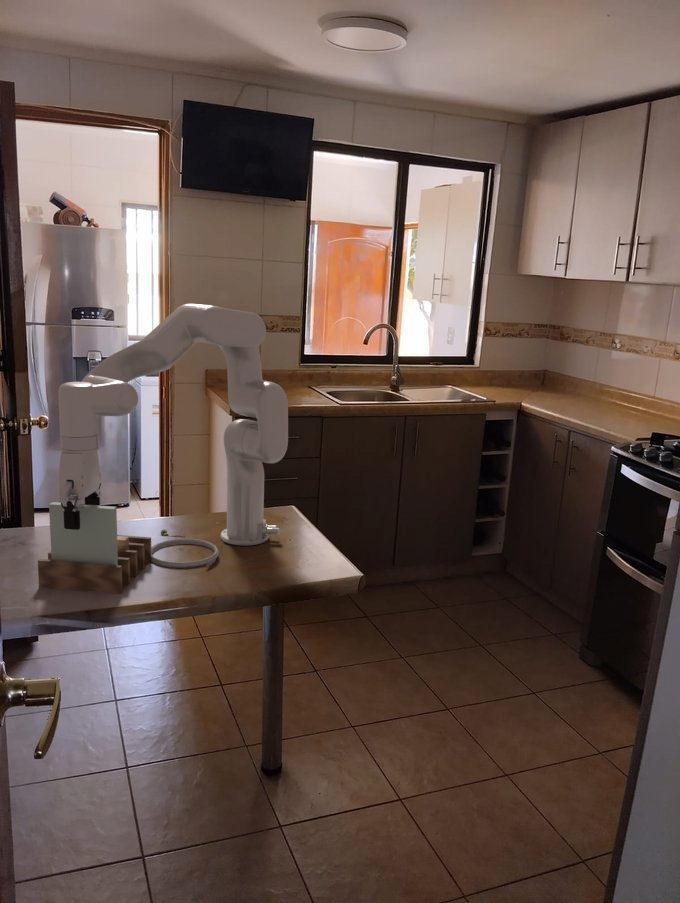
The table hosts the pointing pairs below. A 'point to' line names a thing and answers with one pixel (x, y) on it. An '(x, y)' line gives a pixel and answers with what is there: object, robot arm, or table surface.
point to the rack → (97, 570)
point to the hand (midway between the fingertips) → (82, 521)
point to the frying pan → (184, 541)
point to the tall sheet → (85, 535)
